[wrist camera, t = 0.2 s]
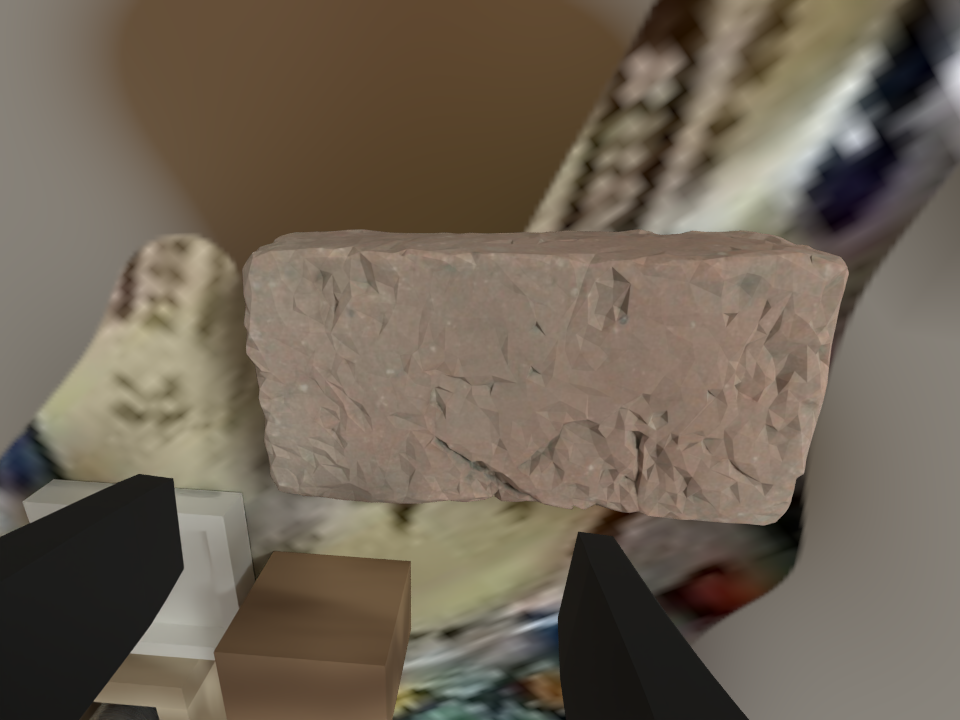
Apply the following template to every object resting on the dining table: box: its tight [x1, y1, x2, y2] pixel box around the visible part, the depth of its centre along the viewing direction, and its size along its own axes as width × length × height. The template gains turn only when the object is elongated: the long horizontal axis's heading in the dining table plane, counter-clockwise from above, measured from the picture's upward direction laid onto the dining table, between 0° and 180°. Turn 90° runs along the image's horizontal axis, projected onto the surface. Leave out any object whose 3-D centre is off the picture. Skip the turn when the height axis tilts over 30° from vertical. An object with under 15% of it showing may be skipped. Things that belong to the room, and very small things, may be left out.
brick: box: [242, 229, 849, 525], centre depth 16 cm, size 17×8×5 cm, turn 90°
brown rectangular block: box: [214, 551, 411, 720], centre depth 21 cm, size 4×6×5 cm, turn 87°
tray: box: [23, 479, 255, 660], centre depth 22 cm, size 8×8×2 cm
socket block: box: [80, 653, 227, 720], centre depth 25 cm, size 7×7×2 cm
